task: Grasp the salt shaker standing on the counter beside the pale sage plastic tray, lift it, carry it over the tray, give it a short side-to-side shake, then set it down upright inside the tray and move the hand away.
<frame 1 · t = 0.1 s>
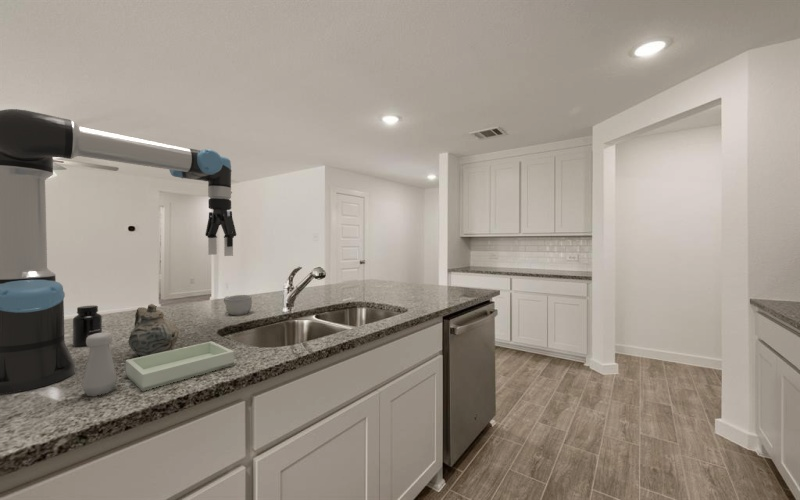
hand: (220, 255, 124), 28 cm above the worktop, tool pointing down, fingers open, 13 cm apart
supplement bottle: (87, 344, 106), on the worktop
tray: (182, 370, 85), on the worktop
salt shaker: (100, 393, 73), on the worktop
teacup: (236, 314, 150), on the worktop
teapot: (153, 355, 97), on the worktop
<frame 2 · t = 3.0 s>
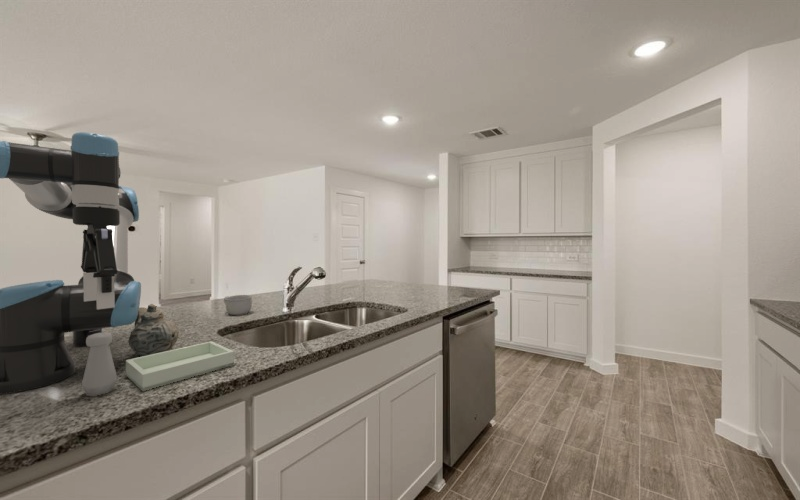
hand: (98, 304, 72), 20 cm above the worktop, tool pointing down, fingers open, 13 cm apart
nothing on the worktop moved.
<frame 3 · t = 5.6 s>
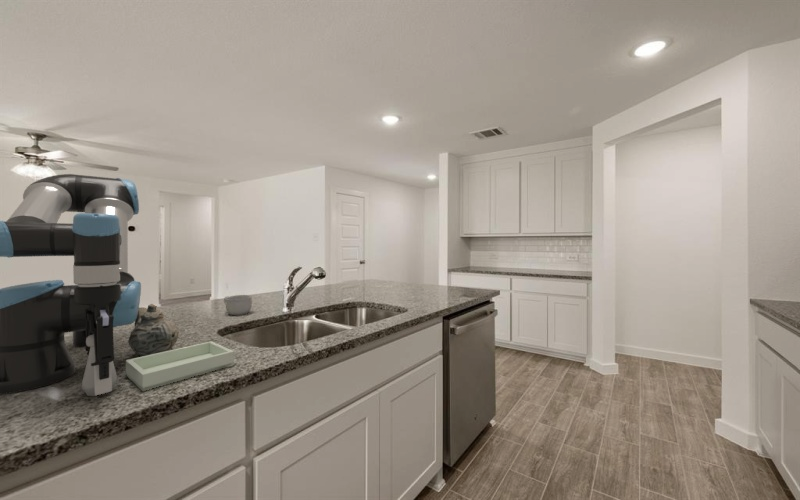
hand: (100, 388, 73), 1 cm above the worktop, tool pointing down, fingers closed on salt shaker, 6 cm apart
salt shaker: (100, 392, 73), on the worktop, touching gripper
everything else where it was.
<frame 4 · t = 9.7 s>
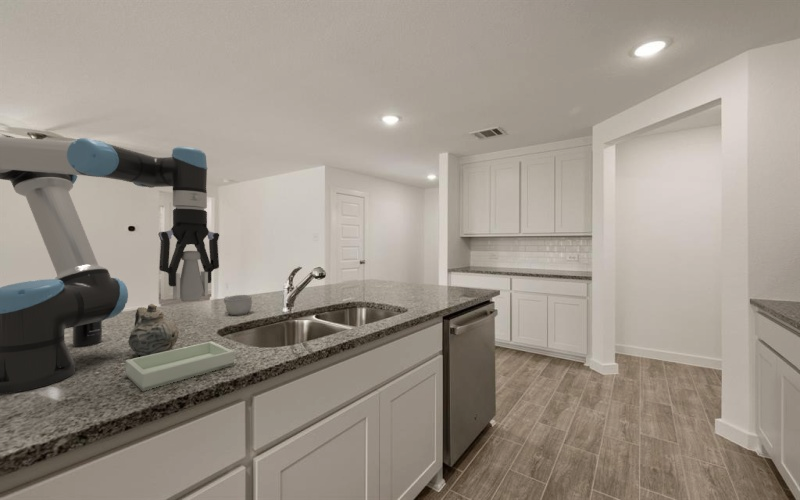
hand: (190, 296, 87), 19 cm above the worktop, tool pointing down, fingers closed on salt shaker, 6 cm apart
salt shaker: (191, 300, 87), point 18 cm above the worktop, touching gripper
everything else where it was.
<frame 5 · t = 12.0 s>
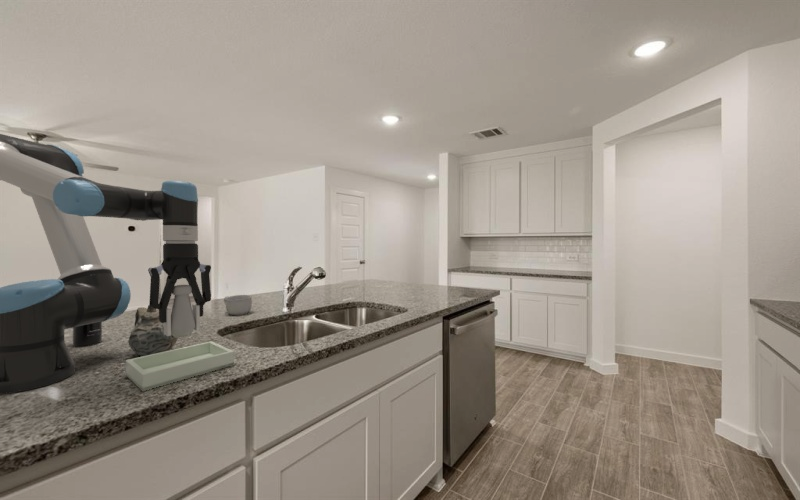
hand: (182, 331, 85), 10 cm above the worktop, tool pointing down, fingers closed on salt shaker, 6 cm apart
salt shaker: (182, 335, 85), point 9 cm above the worktop, touching gripper
everything else where it was.
when the fingers open (3 cm above the worktop, at t = 14.0 s): salt shaker drops 1 cm, resting on tray.
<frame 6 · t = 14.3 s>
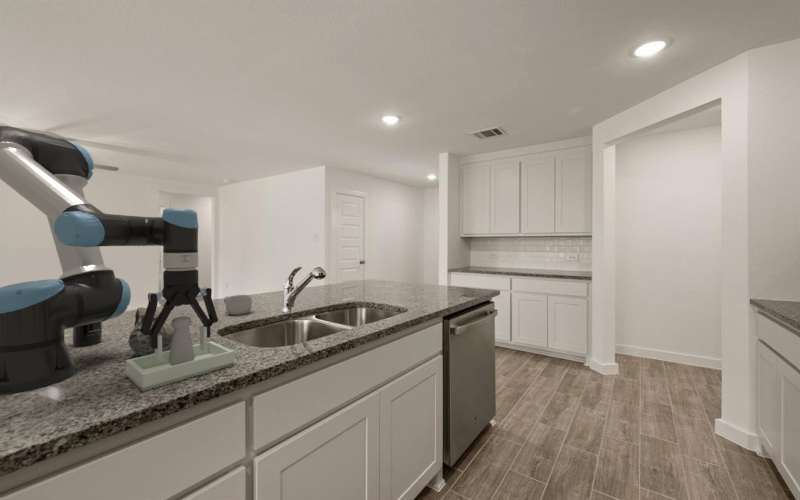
hand: (182, 355, 85), 4 cm above the worktop, tool pointing down, fingers open, 9 cm apart
salt shaker: (181, 367, 85), point 1 cm above the worktop, touching tray
everything else where it was.
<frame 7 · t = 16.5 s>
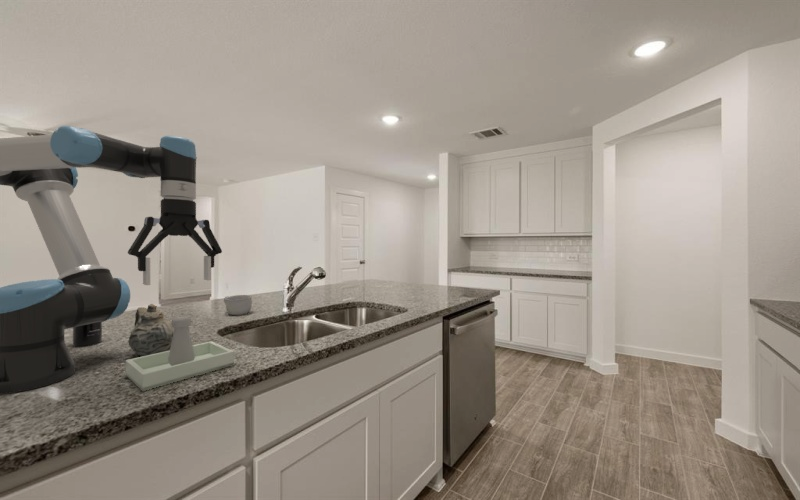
hand: (178, 282, 85), 23 cm above the worktop, tool pointing down, fingers open, 13 cm apart
nothing on the worktop moved.
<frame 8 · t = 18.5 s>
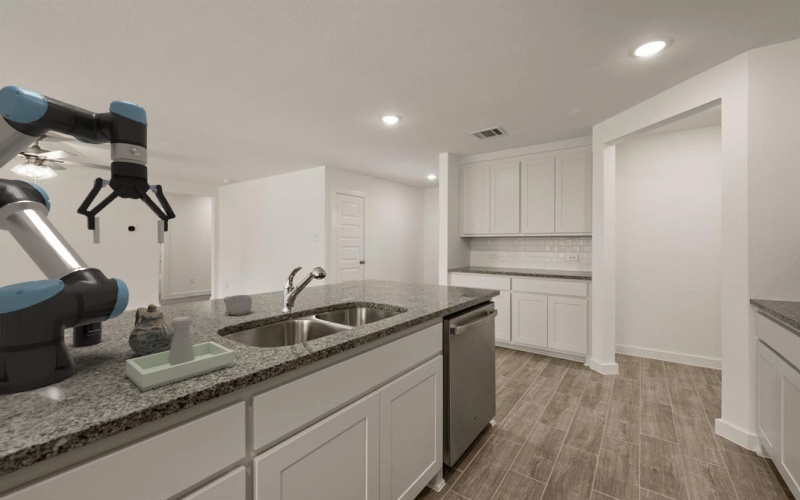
hand: (130, 243, 88), 33 cm above the worktop, tool pointing down, fingers open, 13 cm apart
nothing on the worktop moved.
at the end: salt shaker inside the target area on the tray (0.1 cm from its centre), point 0.6 cm above the tray's base; salt shaker tilted 0°; the gripper is holding nothing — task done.
